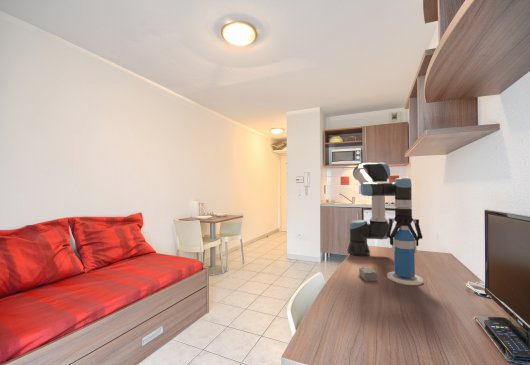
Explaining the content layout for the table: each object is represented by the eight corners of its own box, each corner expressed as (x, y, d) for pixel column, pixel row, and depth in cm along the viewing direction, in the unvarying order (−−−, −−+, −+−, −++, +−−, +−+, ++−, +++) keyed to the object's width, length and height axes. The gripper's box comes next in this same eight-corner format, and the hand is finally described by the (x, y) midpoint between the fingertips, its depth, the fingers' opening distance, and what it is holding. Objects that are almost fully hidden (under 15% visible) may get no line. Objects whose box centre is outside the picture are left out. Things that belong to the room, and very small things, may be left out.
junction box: (359, 275, 129) (359, 266, 129) (370, 275, 129) (370, 266, 129) (364, 280, 121) (364, 271, 121) (376, 280, 121) (376, 272, 121)
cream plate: (383, 272, 133) (383, 270, 133) (415, 274, 129) (415, 272, 129) (392, 283, 117) (392, 281, 117) (429, 286, 114) (429, 284, 114)
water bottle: (419, 277, 118) (418, 227, 119) (400, 277, 119) (399, 227, 119) (408, 271, 128) (407, 224, 128) (390, 271, 128) (389, 224, 128)
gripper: (382, 208, 123) (382, 252, 122) (430, 209, 118) (431, 255, 117) (378, 207, 130) (379, 248, 129) (423, 207, 125) (424, 251, 125)
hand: (404, 251), depth 123 cm, fingers closed on water bottle, 9 cm apart
